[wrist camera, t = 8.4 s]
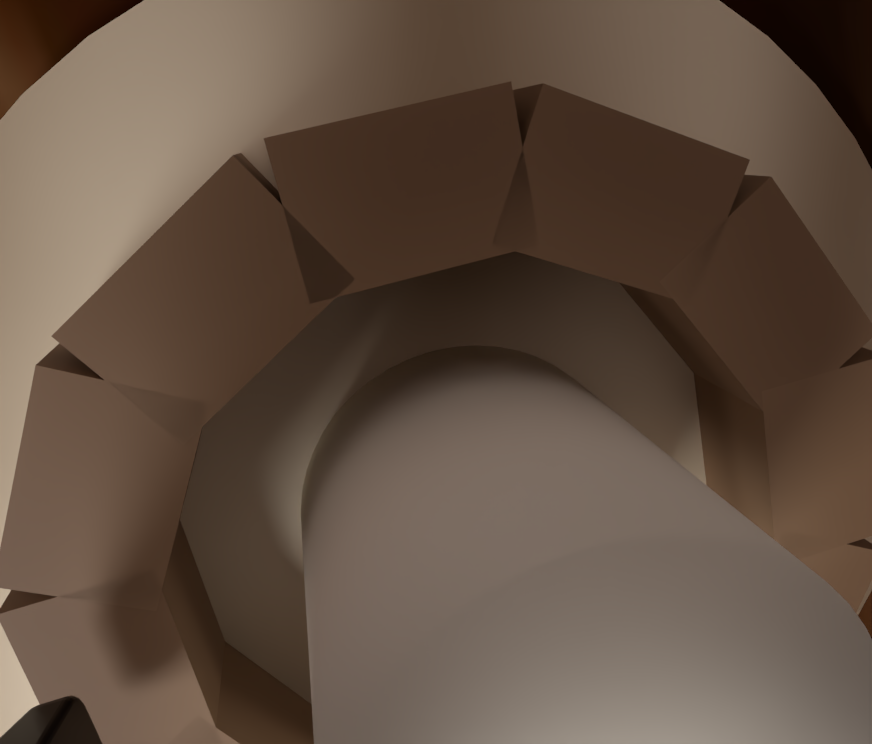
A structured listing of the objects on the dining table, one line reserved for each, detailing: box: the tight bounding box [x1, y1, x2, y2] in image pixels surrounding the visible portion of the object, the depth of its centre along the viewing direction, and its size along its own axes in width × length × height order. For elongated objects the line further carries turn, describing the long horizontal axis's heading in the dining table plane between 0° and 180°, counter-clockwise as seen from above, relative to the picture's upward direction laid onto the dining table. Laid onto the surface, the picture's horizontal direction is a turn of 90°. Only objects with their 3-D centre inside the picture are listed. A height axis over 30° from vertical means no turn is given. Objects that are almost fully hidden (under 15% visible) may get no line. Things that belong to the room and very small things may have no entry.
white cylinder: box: [300, 345, 872, 744], centre depth 8 cm, size 4×4×5 cm
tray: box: [0, 0, 872, 744], centre depth 10 cm, size 14×14×2 cm
